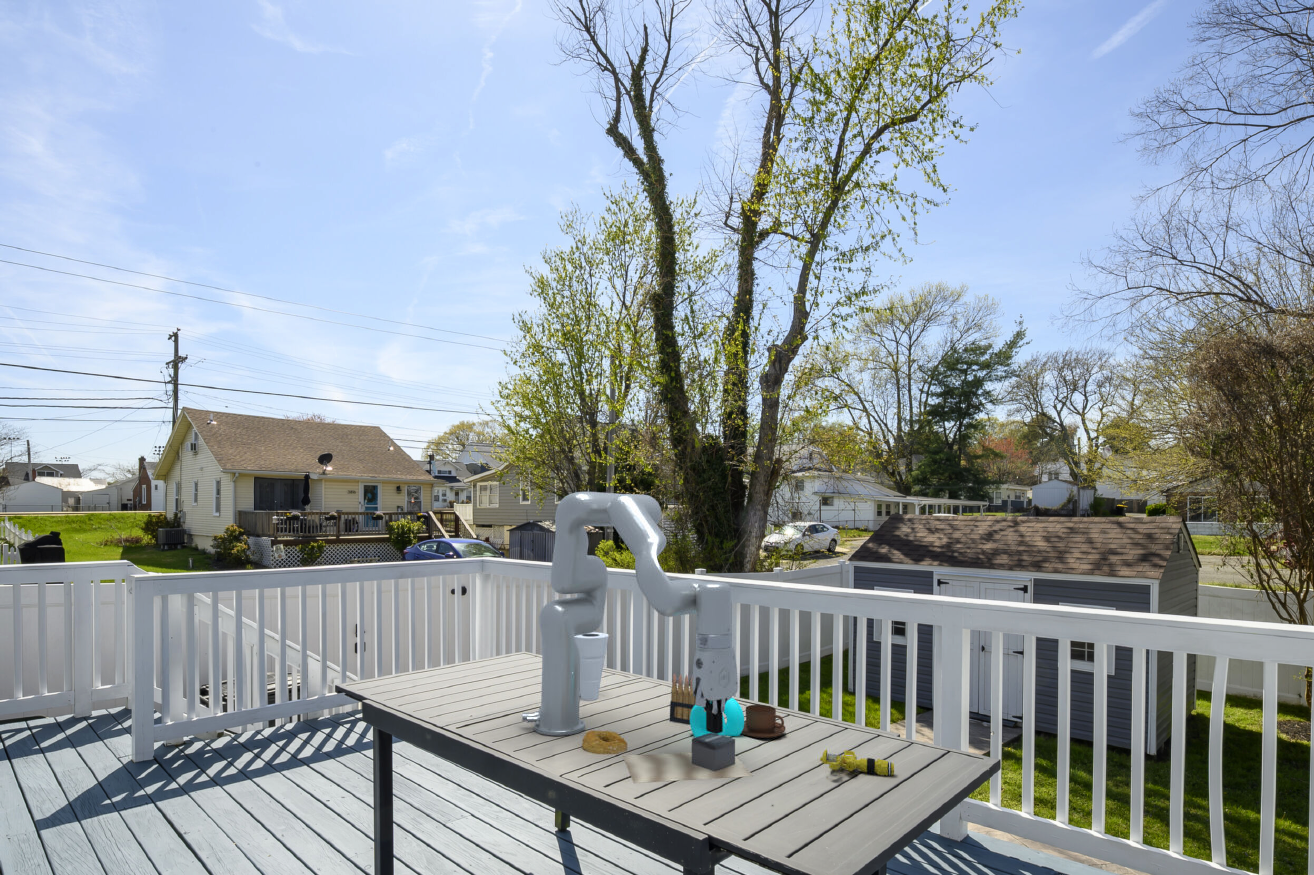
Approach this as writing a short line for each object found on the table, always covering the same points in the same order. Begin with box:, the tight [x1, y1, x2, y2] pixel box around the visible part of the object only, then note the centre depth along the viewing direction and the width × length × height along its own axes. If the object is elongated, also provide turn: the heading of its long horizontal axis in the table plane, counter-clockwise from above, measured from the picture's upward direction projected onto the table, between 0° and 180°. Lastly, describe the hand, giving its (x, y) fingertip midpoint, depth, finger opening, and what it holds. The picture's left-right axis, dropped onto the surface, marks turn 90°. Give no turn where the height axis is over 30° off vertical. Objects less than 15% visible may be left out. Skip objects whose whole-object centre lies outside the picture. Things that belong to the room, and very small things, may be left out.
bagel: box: [581, 730, 628, 755], centre depth 158 cm, size 10×11×5 cm
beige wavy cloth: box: [622, 751, 754, 784], centre depth 147 cm, size 24×16×2 cm, turn 100°
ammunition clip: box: [668, 673, 696, 726], centre depth 183 cm, size 11×2×12 cm, turn 60°
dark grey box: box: [691, 733, 736, 772], centre depth 148 cm, size 6×6×5 cm
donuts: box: [689, 697, 745, 738], centre depth 168 cm, size 10×10×10 cm
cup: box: [574, 631, 609, 702], centre depth 207 cm, size 11×11×18 cm
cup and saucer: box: [741, 704, 786, 739], centre depth 174 cm, size 12×12×6 cm
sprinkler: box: [819, 748, 895, 777], centre depth 150 cm, size 19×4×15 cm
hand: (714, 731), depth 148 cm, fingers closed
